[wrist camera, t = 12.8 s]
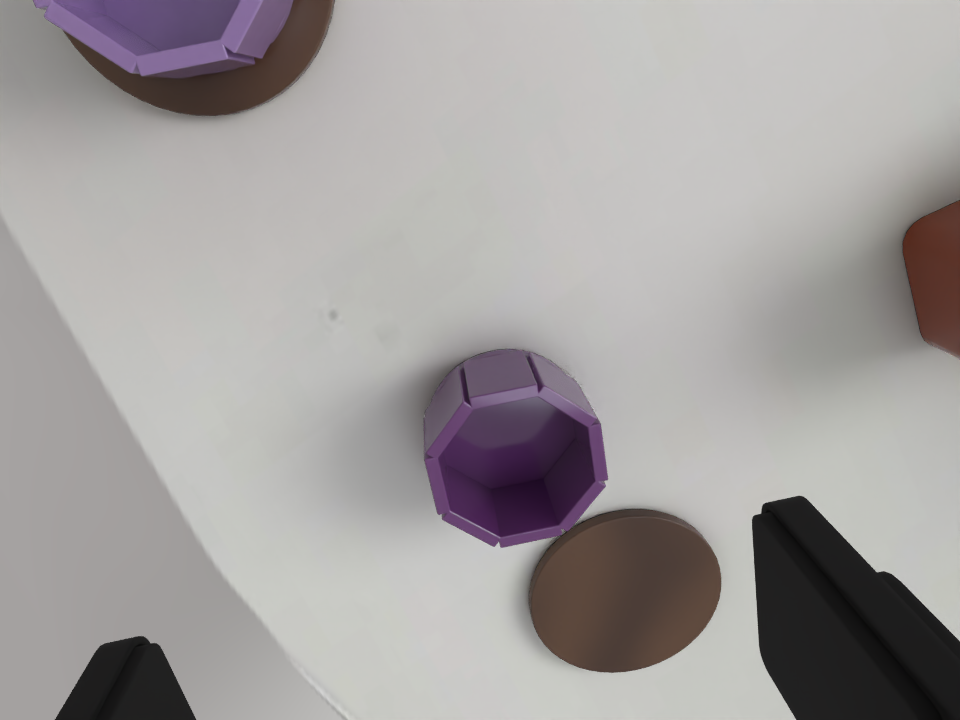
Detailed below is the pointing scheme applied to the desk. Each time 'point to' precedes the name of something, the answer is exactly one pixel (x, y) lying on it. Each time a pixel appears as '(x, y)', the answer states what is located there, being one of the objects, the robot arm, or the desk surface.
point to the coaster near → (232, 86)
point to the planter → (936, 276)
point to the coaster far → (624, 590)
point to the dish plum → (512, 448)
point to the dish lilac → (172, 32)
